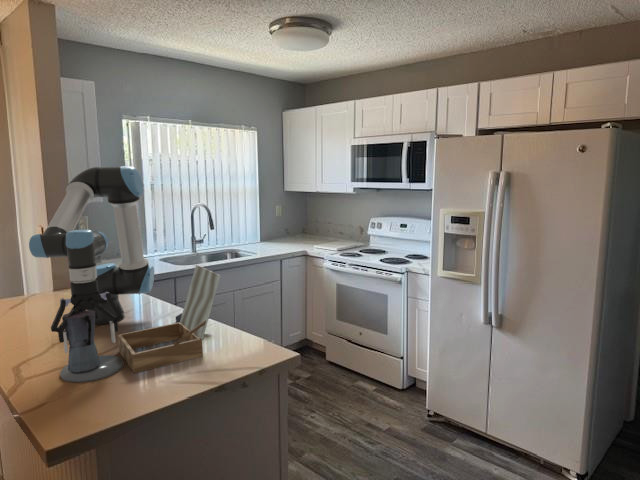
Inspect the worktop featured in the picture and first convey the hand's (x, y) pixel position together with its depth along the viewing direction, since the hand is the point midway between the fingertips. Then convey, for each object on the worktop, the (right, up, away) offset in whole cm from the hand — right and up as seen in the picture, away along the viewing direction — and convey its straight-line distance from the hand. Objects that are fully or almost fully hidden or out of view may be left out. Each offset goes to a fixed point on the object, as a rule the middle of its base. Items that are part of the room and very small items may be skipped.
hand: (90, 346), depth 145 cm
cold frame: (+21, -5, +15) cm, 26 cm away
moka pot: (-1, -7, 0) cm, 7 cm away
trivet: (0, -7, +1) cm, 8 cm away
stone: (+22, -2, +34) cm, 41 cm away
